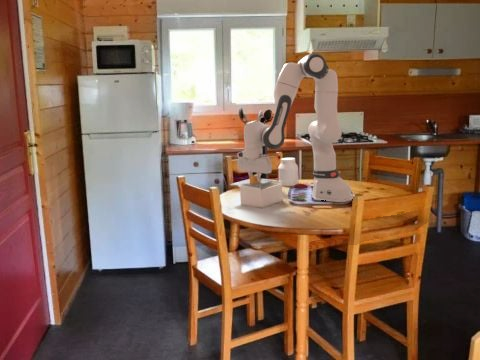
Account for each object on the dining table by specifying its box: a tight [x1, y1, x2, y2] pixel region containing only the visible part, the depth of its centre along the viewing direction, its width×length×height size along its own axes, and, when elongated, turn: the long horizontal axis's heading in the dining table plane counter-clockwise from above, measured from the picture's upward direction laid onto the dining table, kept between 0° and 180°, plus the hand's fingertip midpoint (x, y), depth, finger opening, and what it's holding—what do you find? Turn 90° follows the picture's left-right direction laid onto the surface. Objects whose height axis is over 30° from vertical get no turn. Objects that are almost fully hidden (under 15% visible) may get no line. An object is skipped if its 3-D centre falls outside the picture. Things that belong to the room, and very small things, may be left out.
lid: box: [229, 174, 272, 187], centre depth 242 cm, size 14×16×5 cm
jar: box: [277, 157, 300, 187], centre depth 278 cm, size 12×10×15 cm
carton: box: [237, 178, 284, 209], centre depth 239 cm, size 14×18×10 cm
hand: (255, 180), depth 240 cm, fingers closed on lid, 2 cm apart
